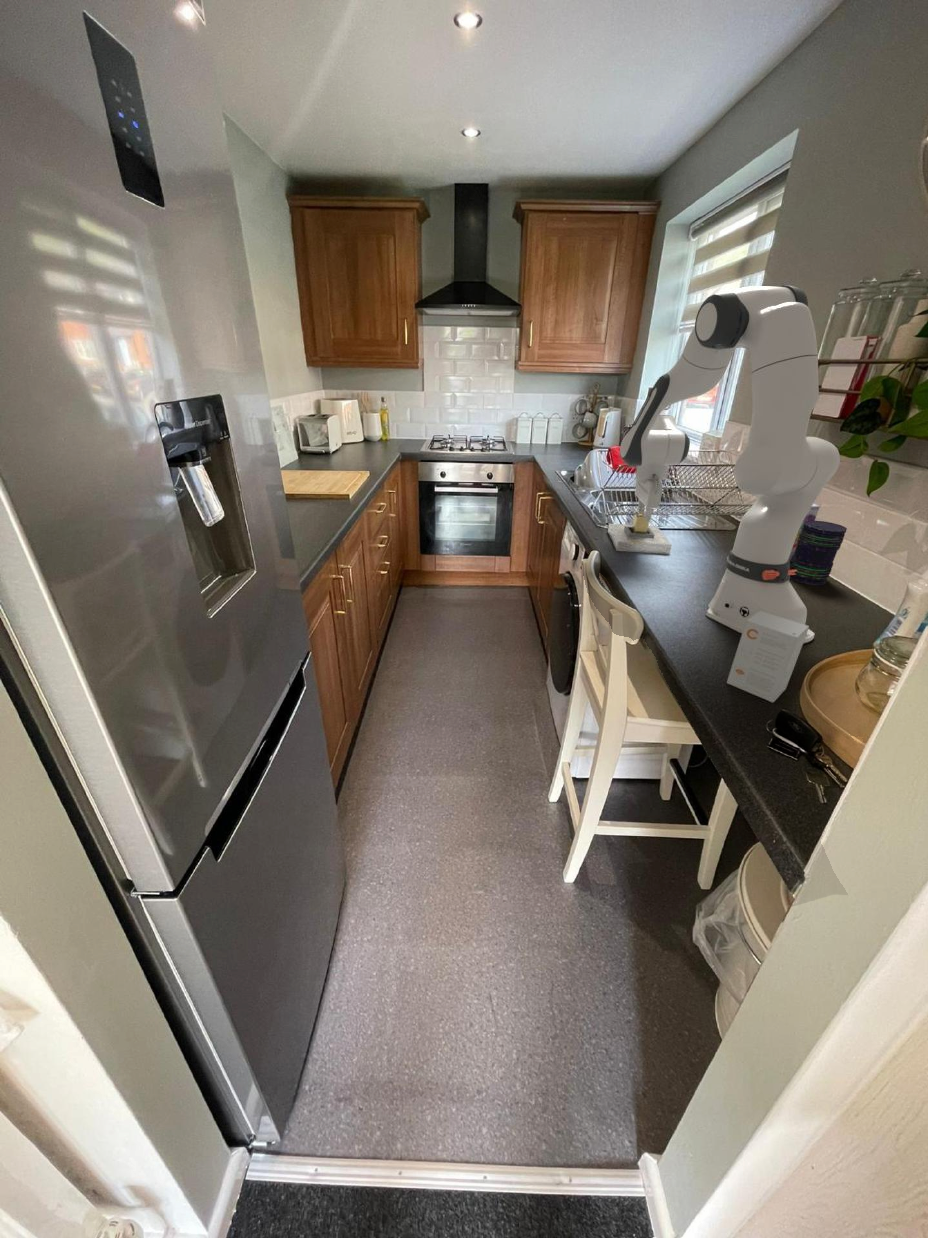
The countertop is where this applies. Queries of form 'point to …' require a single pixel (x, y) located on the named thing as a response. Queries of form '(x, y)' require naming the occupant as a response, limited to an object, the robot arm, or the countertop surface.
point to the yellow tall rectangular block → (639, 524)
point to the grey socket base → (638, 539)
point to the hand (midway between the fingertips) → (643, 516)
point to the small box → (767, 655)
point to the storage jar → (816, 551)
